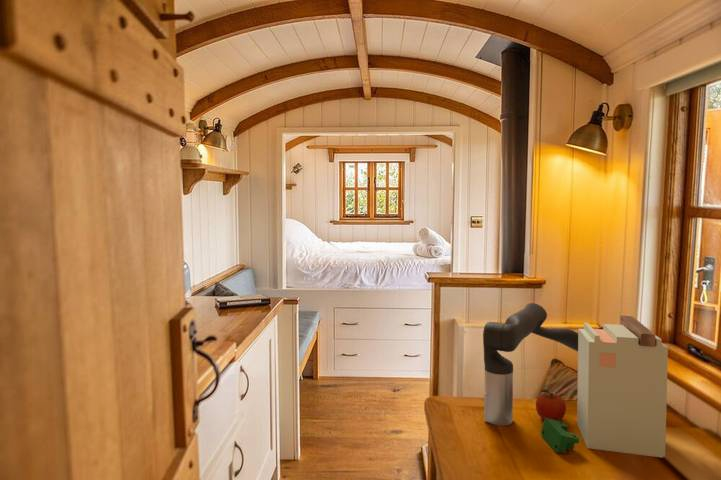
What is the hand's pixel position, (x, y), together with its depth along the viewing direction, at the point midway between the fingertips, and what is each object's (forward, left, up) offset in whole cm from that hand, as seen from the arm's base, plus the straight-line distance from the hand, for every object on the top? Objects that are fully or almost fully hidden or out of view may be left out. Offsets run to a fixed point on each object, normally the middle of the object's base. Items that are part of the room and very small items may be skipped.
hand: (616, 330), depth 154 cm
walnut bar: (0, -21, +4) cm, 21 cm away
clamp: (-22, -32, -29) cm, 49 cm away
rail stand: (-5, -24, -28) cm, 37 cm away
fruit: (-23, -15, -29) cm, 40 cm away
